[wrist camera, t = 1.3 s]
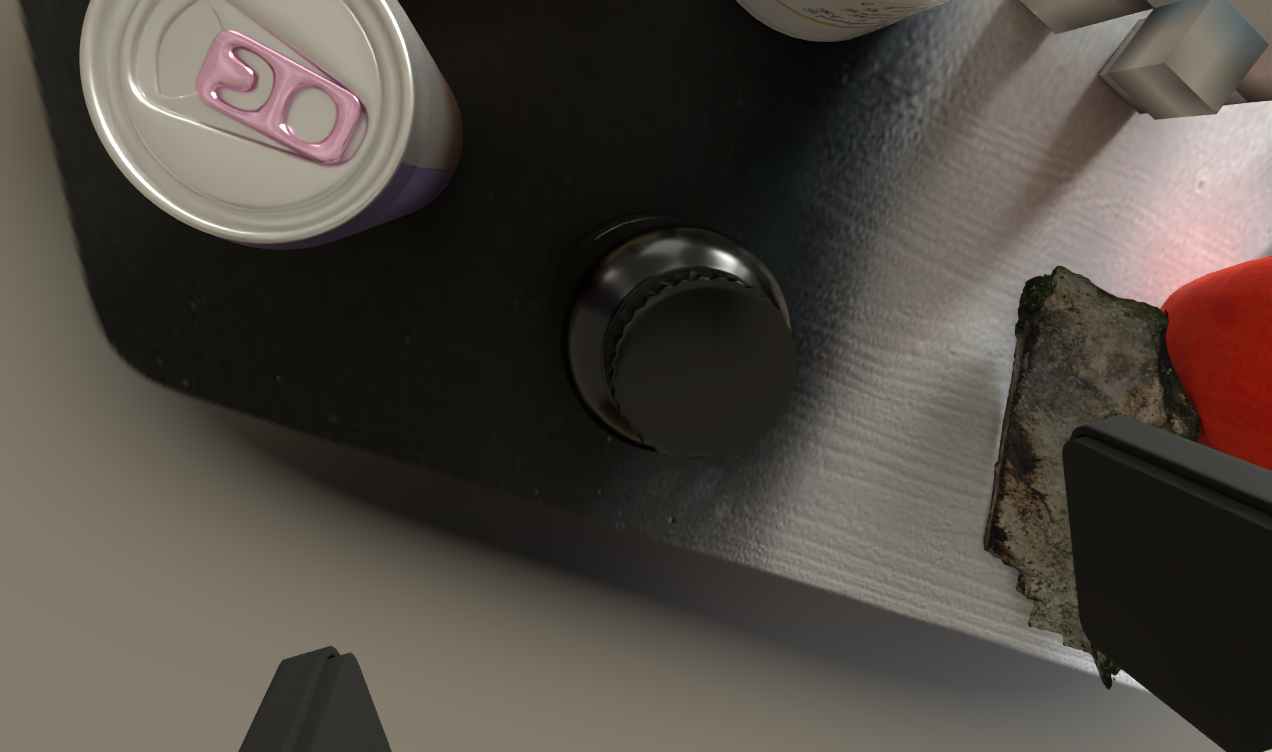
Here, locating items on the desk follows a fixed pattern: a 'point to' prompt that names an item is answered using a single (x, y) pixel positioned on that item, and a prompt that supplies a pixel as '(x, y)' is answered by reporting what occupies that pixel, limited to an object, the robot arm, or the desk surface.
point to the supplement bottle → (673, 336)
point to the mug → (833, 16)
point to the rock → (1071, 428)
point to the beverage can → (271, 113)
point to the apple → (1227, 357)
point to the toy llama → (1179, 51)
